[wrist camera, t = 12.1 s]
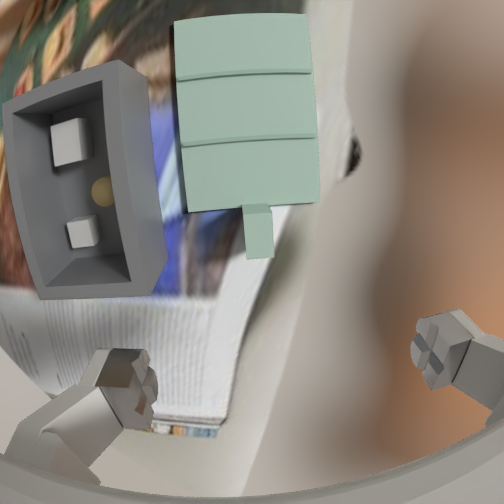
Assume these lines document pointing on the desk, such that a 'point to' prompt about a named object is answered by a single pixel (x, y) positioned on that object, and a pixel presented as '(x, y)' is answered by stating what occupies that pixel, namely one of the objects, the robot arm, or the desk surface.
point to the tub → (86, 184)
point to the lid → (247, 117)
